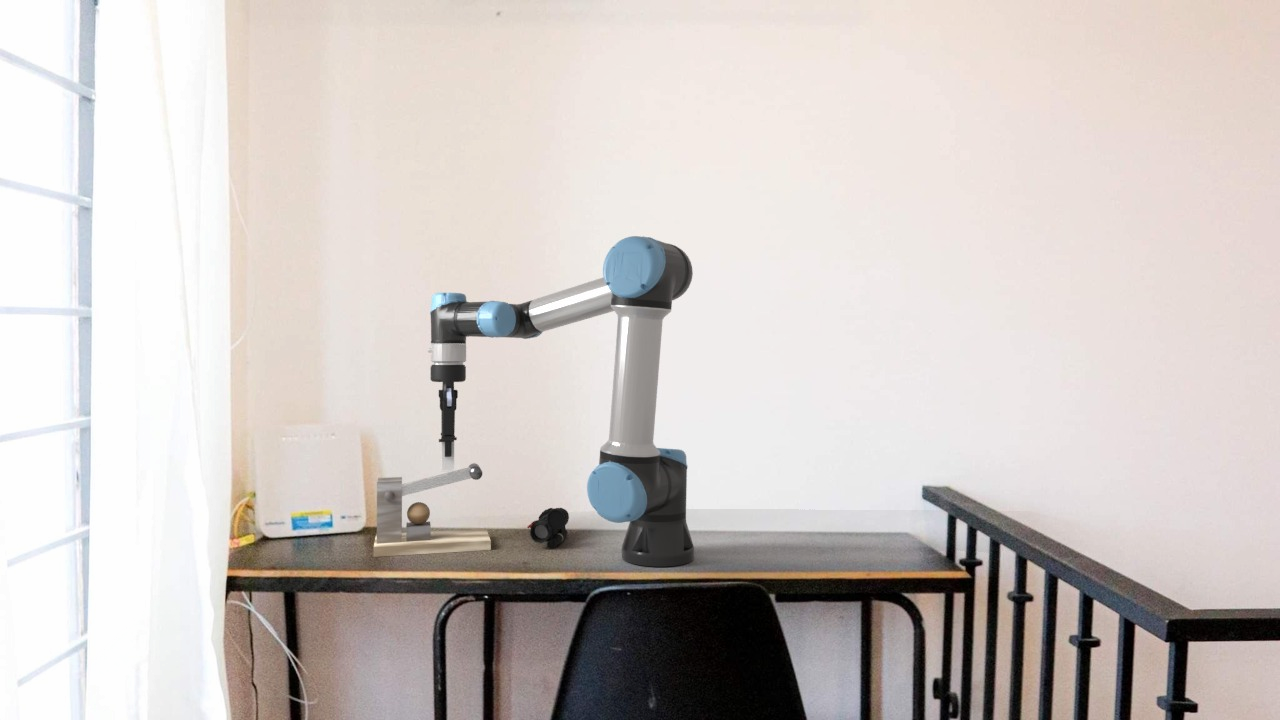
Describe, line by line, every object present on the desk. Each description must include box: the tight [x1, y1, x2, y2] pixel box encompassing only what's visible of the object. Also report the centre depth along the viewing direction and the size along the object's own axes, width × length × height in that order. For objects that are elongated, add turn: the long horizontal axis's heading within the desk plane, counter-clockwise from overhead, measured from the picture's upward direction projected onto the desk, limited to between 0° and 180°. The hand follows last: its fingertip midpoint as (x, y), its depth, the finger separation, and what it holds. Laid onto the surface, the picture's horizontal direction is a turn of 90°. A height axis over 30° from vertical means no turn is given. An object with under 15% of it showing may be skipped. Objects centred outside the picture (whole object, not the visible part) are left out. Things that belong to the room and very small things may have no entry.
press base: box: [372, 476, 492, 558], centre depth 175 cm, size 12×24×15 cm, turn 106°
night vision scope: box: [526, 507, 570, 550], centre depth 181 cm, size 8×18×10 cm
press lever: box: [402, 462, 483, 497], centre depth 175 cm, size 7×21×3 cm, turn 106°
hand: (447, 470), depth 176 cm, fingers closed
